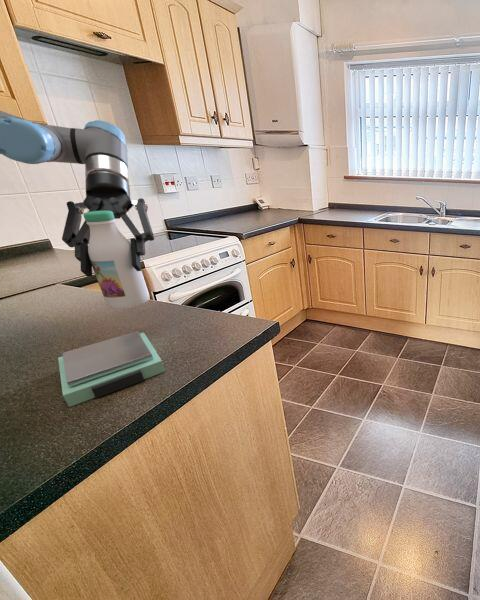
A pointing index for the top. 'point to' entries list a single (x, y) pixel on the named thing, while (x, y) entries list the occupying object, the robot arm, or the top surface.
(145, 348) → the scale pan
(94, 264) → the milk bottle
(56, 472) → the top surface
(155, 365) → the scale
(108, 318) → the top surface
